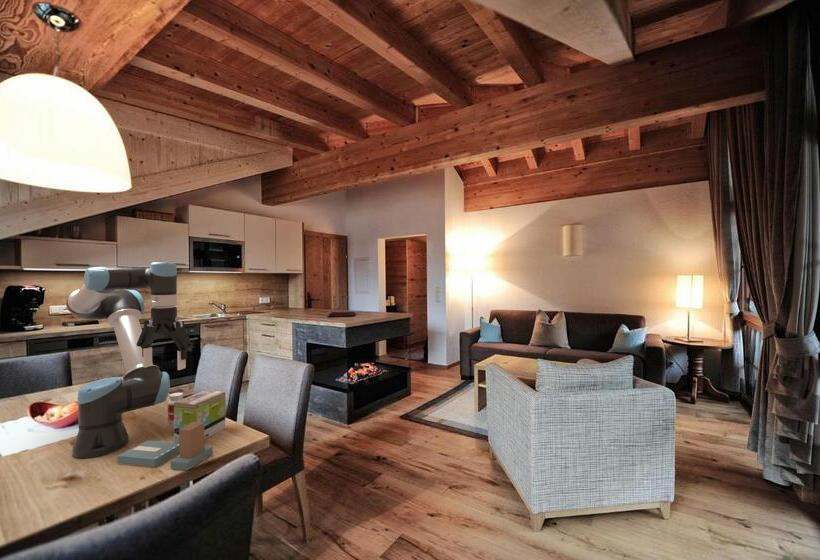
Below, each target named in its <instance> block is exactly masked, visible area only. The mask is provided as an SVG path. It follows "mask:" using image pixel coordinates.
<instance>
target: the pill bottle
mask: <svg viewBox="0 0 820 560" xmlns="http://www.w3.org/2000/svg"><path fill="white" fill-rule="evenodd" d="M184 398H185V397H184V392H174V393H171V394H169V400H168V401H167V422H168V423H169V424H174V402H177V401H179V400H182V399H184Z"/></svg>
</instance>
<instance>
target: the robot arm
mask: <svg viewBox="0 0 820 560" xmlns="http://www.w3.org/2000/svg"><path fill="white" fill-rule="evenodd" d="M84 271H85V272H84V274H83V282H84V284H83V286H82V287H80V289H77V290H75V291H73V292H72V293H70V294H69V296H68V297H67V298H66V301H65V306H66V309H67V310H68V311H69V312H70V313H71V315H74V316H75V317H77V318H80V319H84V320H95V321H96V320H106V323H107V324H108V325H109V326H112V327H113V330H114V334H115V337H116V341H117V343H118V344H117V345H118V348H119V351H120V354H121V357H122V362H123V365H124V369H125V372H126V373H125V374H124V375H123V377H122V378H121V377H120V376H112V377H105V378H100V379H97V380H94V381H91V382H88V383H86V384H85V385H83V386H81V387H80V389H79V390H78V392H77V393H78V395H77V402H76V403H77V409H78V410H77V411H78V417H77V418H78V431H77V434H76V436H75V440H74V443H73V445H72V448H71V449H72V452H71V453H72V457H74V458H76V459H87V458H89V459H90V458H95V457H101V456H104V455H108V454H111V453H113V452H117V451H119V450H121V449H123V448H124V447H126V446H127V445H129V442H130V441H129V440H130V435H129V433H128V432H127V431H128V430H127V429H126V427H125V425H124V423H123V414H124V413H127V412H132V411H136V410H139V409H144V408H147V407H154V406H156V405H159V404H162V403H164V402H166V400H168V397H169V396H170V387H171V380H170V375H169V373H168V372H167V371H161V370H160V367H159V366H158V365H155V364H154V363H153V346H152V344H153V342H154V341H155V340H156V339H157V337H158V336H159V335H161V334H162V335H167V336H169V337H170V339H171V340H172V341H173V343H174V344H175V345H176V347H177V348H178V350H177V371H181V370H184V369H186V366H187V365H186V364H187V363H186V362H187V359H188V350H189V349H192V348H193V347H194V345H193V343H192V342H191V339H190V336H189V335H188V332H187V330H186V327H185V322H184V320H179V321H176V318H177V317H178V307H177V305H178V296H177V295H178V294H177V291H178V290H177V288H178V285H177V284H178V283H177V281H178V280H177V279H178V277H177V275H178V271H177V264H176V263H175V262H170V261H169V262H165V261H164V262H163V261H162V262H159V261H158V262H157V261H155V262H151V263H150V267H149V266H147V267H115V266H111V267H109V266H108V267H107V266H98V267H97V266H96V267H88V268H86V269H85V270H84ZM146 289H148V290H149V289H150V306H151V307H152V308H150V318H151V319H149V320H148V319H147V320H144V322H143V323H144V324H143V328H142V326H141V322H140V319H142V315H143V314H144V313H145V304H144V303H145V301H144V298H143V296H142V294H141V293H140V292H139V291H137V290H146Z"/></svg>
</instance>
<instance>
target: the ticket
mask: <svg viewBox="0 0 820 560" xmlns="http://www.w3.org/2000/svg"><path fill="white" fill-rule="evenodd" d="M178 454H180V448H179V443H177V442H168V441H158V440H149V439H148V440H145V441H143V442H142V443H140V444H138V445H136V446H134V447H132V448H130V449H128V450H126V451H125V452H122V453H120V454H118V455H117V459H116V460H117V461H116V462H117V464H119V465H120V464H121V465H126V466H127V465H129V466H138V467H145V468H146V467H147V468H157V467H158V466H160V465H162V464H163V463H165V462H166V461H168V460H171V458H173V457H175V456H176V455H178Z"/></svg>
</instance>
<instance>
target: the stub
mask: <svg viewBox="0 0 820 560" xmlns="http://www.w3.org/2000/svg"><path fill="white" fill-rule="evenodd" d="M205 440H206V439H205V438H204V423H203V422H192V423H190V424H188V425H186V426H185V427H183V428H181V429H179V448H180V453H179V455H178V456H176V457H175V458H173V459H172V460H170V463H169V464H170V469H172V470H178V471H179V470H181V471H189V470H190V469H192V468H193V467H195V466H196V465H198V464H199V463H200V462H202V461H203V460H205V459H206V458H208V457H209V456H211V455H213V454H214V448H213V447H214V446H213V445H206V443H205Z"/></svg>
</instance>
